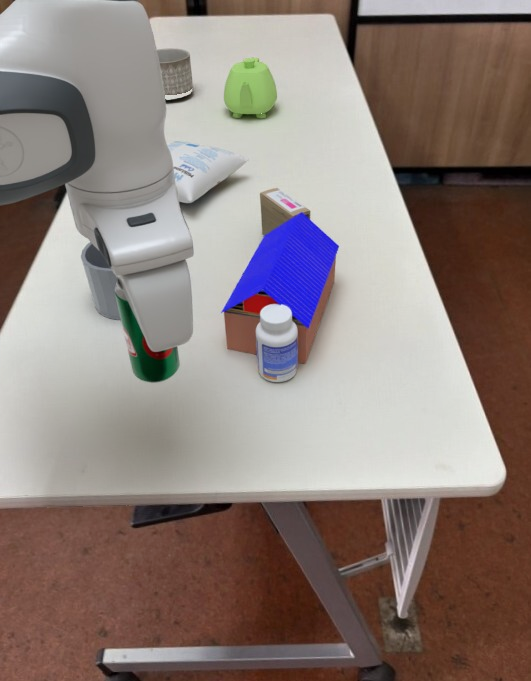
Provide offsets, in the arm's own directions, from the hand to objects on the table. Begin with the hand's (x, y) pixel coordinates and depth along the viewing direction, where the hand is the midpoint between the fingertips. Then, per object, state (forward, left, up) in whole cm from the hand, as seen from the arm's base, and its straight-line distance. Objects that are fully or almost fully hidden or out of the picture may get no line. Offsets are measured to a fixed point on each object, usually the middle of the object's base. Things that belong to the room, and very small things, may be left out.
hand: (148, 325), depth 57 cm
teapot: (+51, +92, -18) cm, 107 cm away
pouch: (+22, +60, -18) cm, 66 cm away
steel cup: (+2, +29, -18) cm, 34 cm away
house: (+23, +15, -18) cm, 32 cm away
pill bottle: (+16, +5, -18) cm, 25 cm away
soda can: (0, 0, -6) cm, 6 cm away
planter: (+37, +114, -18) cm, 121 cm away
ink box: (+31, +32, -18) cm, 48 cm away
